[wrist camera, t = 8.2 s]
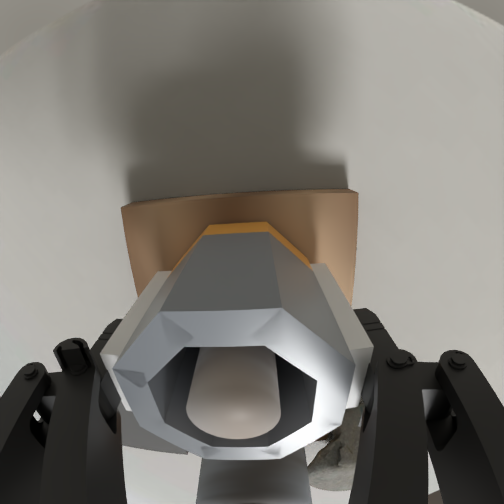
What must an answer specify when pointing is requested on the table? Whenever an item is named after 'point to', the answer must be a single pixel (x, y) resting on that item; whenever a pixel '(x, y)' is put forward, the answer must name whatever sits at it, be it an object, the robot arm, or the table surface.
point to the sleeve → (239, 341)
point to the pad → (143, 435)
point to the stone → (338, 455)
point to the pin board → (278, 208)
